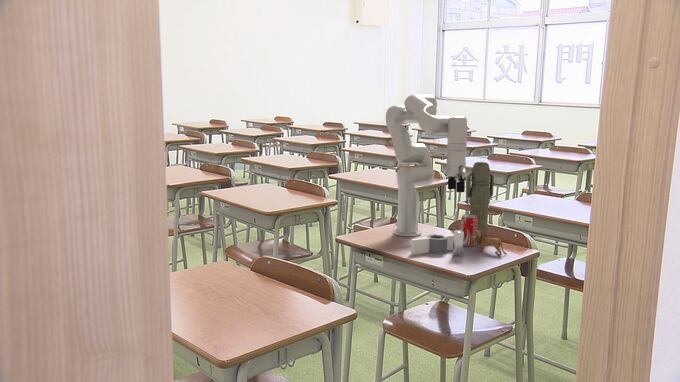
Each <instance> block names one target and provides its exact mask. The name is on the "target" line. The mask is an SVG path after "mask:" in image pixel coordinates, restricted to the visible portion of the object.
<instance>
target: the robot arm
mask: <svg viewBox="0 0 680 382" xmlns="http://www.w3.org/2000/svg"><path fill="white" fill-rule="evenodd" d="M437 107H438V102H437V98H435V96H434V95H432V94H411V95H409V96H407V97H406V98H405V100H404V104H396V105H392V106H390V107H388V108H387V110H386V112H385V125H386V128H387V130H388V133H389V135H390V138H391V141H392V146H393V150H394V154H395V160H396V162H397V163H398V164H400V165H405V166H401V167H400V168H399V169H398V170H397V173H396V182H397V191H398V192H397V193H398V198H397V200H398V202H397V222H395V224H394V225H395V226H396V229H394V230H393V233H394V234H395V235H396V236H399V237H411V238H413V237H419V236H421V235H422V231H421V230H420V229H419V214H420V213H419V210H420V195H419V192H418V190H417V189H416V187H425V186H426V187H427V186H430V185H432V184H433V182H434V180H435V171H434V167H433V163H432V162H433V161H432V158H431V152H430V150H429V149H428V147H427V146H426V144H424V143H419V142H418V143H415V142H414V143H413V142H412V139H411V135H410V132H409V131H408V129H407V128H406V126H404V125H403V124H418V126H419V128H420V129H421V130H422V131H424V132H425V133H427V134H429V135H431V136H432V135H433V136H440V135H443V136H444V135H447V139H446V140H447V141H446V143H447V145H446V147H447V148H446V149H447V150H446V152H447V156H446V165H445V167H446V169H445V174H446V175H447V190H456V193H465V192H466V189H465V188H466V179H467V178H466V177H467V176H466V175H467V172H466V171H467V170H466V169H467V168H466V167H467V163H466V162H467V161H466V152H467V148H468V147H467V145H468V144H467V143H468V141H467V140H468V119H467V117H465V116H459V115H458V116H453V115H437Z"/></svg>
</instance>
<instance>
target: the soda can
mask: <svg viewBox="0 0 680 382" xmlns="http://www.w3.org/2000/svg"><path fill="white" fill-rule="evenodd" d="M477 228H478V219H477V216H476V215H473V214H470V213H464V214H462V217H460V229H459V230H460V231H464V242H463V247H468V248H469V247H475V246H476V245H478V244H477V242H476V241H474V240H473V238H472V235H473V231H474V230H477Z"/></svg>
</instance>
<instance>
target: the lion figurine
mask: <svg viewBox="0 0 680 382" xmlns="http://www.w3.org/2000/svg"><path fill="white" fill-rule="evenodd" d="M472 238H473V240H474V241H476V242H477V244H476V245H480V250H479V253H484V251H485V247H486V246H487V247H494V249H496V251H495V252H494V253H495V254H497V256H498V257H501V256H502V255H503V254H504V255H508V254H507V252H505V251H504V246H503V243H502V240H501V239H499V238H498V237H489V235H488V236H487V235H486V234H484V233H483V232H482V231H480V230H474V231H473V235H472ZM500 248H501V249H500ZM502 253H503V254H502Z"/></svg>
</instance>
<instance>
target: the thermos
mask: <svg viewBox="0 0 680 382" xmlns="http://www.w3.org/2000/svg"><path fill="white" fill-rule="evenodd" d="M466 177H467V178H466V197H467V198H469V199H468V202H469V214H473V215H476V216H477V219H478V228H477V230H480V231H482V232H483V233H484V234H486V235H487V236H488V237H489V225H488V221H489V219H488V218H489V204H490V201H491V197H493V195H494V185H495V176H494V175H493V173H491V168H490V165H489V163H487V162H486V161H476V162H474V163H473V166H472V168H471V172H470V173H468V175H467V176H466Z"/></svg>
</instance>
